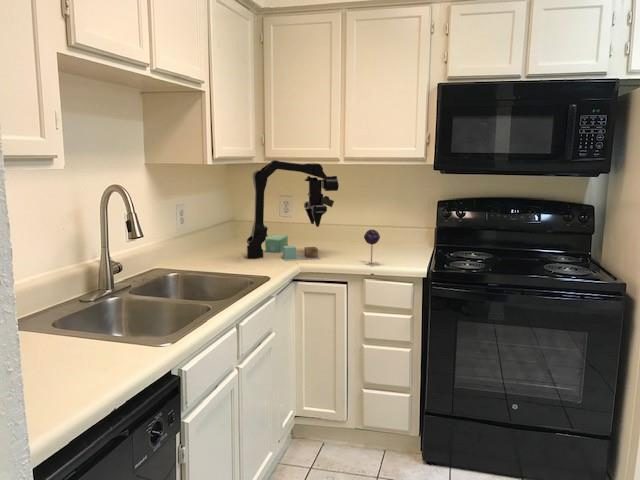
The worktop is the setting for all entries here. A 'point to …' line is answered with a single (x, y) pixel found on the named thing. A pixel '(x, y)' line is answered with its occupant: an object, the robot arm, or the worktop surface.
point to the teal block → (289, 252)
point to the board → (300, 258)
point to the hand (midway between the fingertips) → (315, 225)
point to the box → (276, 243)
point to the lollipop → (371, 238)
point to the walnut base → (311, 252)
